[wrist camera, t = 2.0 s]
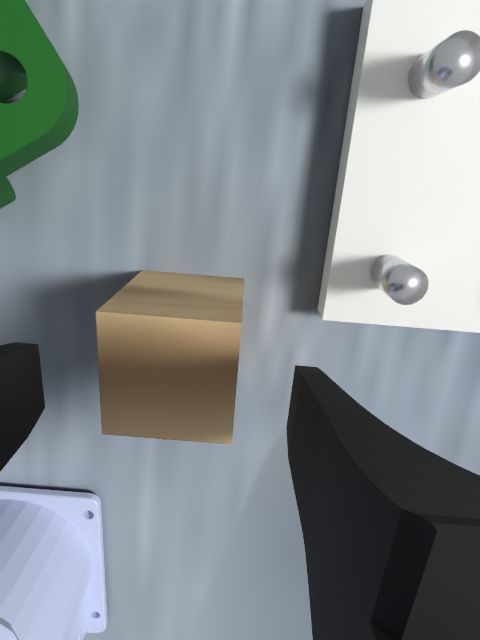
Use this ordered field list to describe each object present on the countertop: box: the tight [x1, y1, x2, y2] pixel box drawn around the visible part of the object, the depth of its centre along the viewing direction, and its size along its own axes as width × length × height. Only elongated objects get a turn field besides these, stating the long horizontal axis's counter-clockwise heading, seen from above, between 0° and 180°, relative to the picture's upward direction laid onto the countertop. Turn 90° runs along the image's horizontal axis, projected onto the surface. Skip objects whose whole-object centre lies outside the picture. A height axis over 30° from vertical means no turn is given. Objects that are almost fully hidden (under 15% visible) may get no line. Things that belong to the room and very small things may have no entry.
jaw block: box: [96, 270, 244, 444], centre depth 14 cm, size 4×4×5 cm
